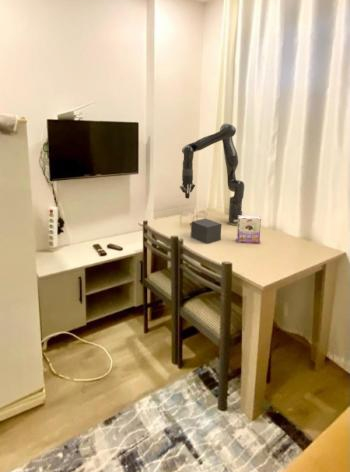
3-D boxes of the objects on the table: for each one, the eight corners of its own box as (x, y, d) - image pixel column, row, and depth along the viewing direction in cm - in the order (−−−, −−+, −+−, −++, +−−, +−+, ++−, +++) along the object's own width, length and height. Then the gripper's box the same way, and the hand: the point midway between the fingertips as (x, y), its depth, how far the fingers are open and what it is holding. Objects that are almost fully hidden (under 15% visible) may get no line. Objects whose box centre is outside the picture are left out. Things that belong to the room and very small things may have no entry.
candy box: (258, 240, 209) (259, 215, 206) (259, 243, 203) (261, 218, 200) (236, 239, 210) (237, 214, 207) (237, 242, 204) (238, 217, 201)
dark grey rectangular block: (191, 237, 212) (191, 221, 210) (204, 233, 220) (205, 218, 218) (206, 243, 201) (207, 227, 199) (220, 239, 209) (221, 223, 207)
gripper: (183, 176, 219) (183, 200, 222) (198, 174, 227) (197, 197, 230) (176, 174, 225) (176, 198, 228) (191, 172, 233) (190, 196, 236)
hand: (187, 198), depth 229 cm, fingers closed
